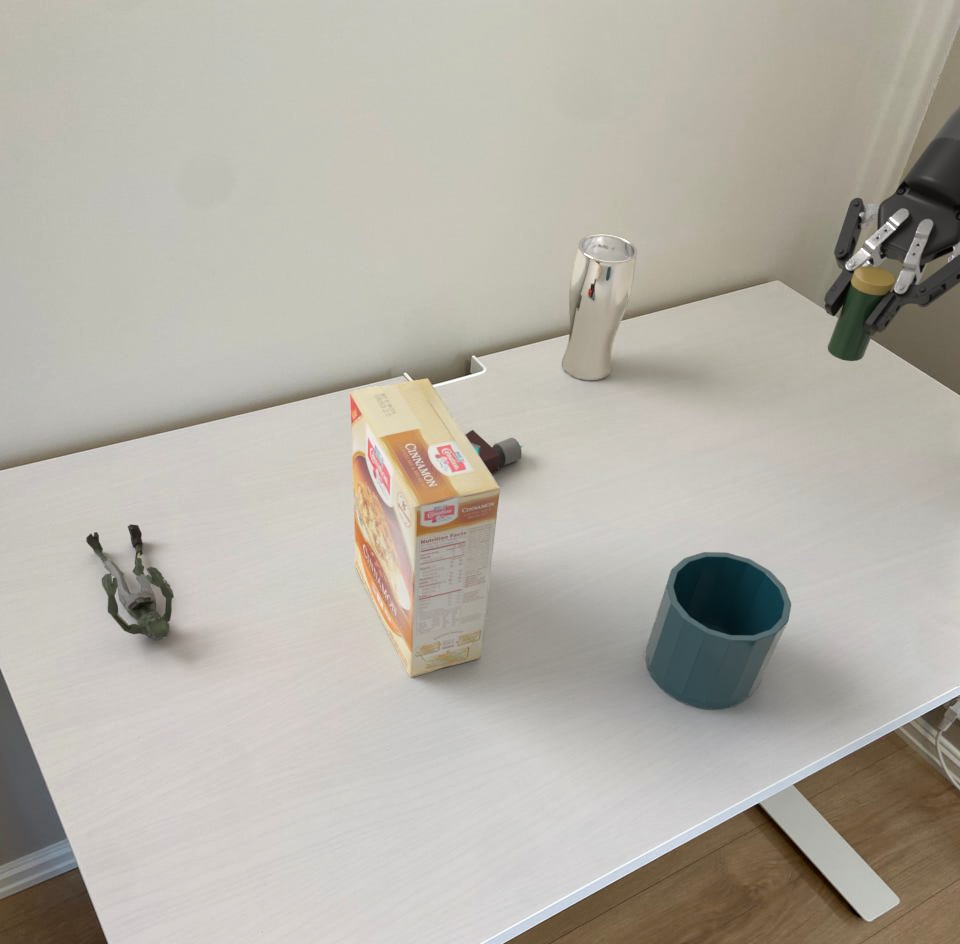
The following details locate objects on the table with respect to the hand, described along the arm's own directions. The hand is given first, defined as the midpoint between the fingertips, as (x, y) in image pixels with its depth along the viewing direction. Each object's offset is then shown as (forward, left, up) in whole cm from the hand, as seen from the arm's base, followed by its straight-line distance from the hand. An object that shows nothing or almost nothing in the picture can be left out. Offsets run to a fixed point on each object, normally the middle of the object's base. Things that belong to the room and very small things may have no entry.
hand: (848, 320), depth 92 cm
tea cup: (+4, +32, -18) cm, 37 cm away
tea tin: (-1, -2, -4) cm, 4 cm away
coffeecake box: (+30, +36, -19) cm, 50 cm away
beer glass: (+26, -10, -19) cm, 34 cm away
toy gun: (+34, +13, -19) cm, 41 cm away
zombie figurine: (+53, +44, -19) cm, 72 cm away
